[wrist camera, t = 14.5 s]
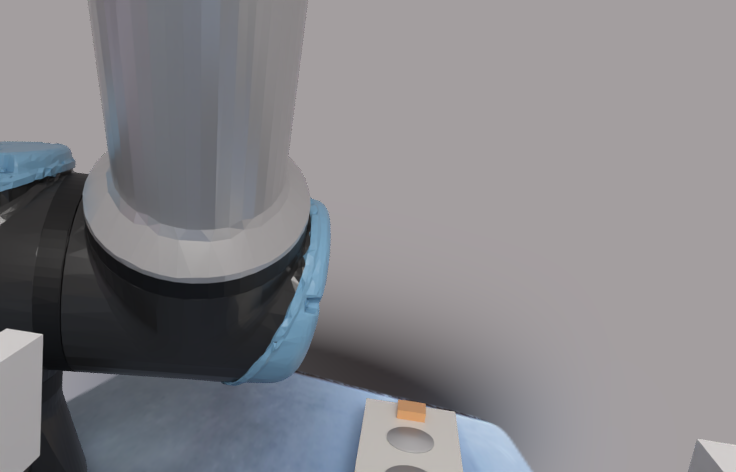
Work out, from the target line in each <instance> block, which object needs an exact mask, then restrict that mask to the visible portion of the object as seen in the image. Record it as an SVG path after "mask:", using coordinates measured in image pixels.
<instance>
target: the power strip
mask: <svg viewBox="0 0 736 472" xmlns="http://www.w3.org/2000/svg"><path fill="white" fill-rule="evenodd" d="M354 472H463V468H462V461H461V453H460V445H459V438H458V430H457V423H456V415H455V412H453V411H446V410H440V409H433V408H427V407H426V404H424V403H418V402H411V401H405V400H398V403H395V402H388V401H382V400H375V399H369V398H367V399H366V405H365V411H364V417H363V423H362V429H361V435H360V441H359V447H358V453H357V459H356V465H355V471H354Z"/></svg>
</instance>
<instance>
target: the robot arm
mask: <svg viewBox="0 0 736 472" xmlns="http://www.w3.org/2000/svg"><path fill="white" fill-rule="evenodd" d="M307 4H308V0H88V6H89V13H90V21H91V28H92V36H93V43H94V50H95V58H96V65H97V72H98V80H99V87H100V95H101V101H102V109H103V116H104V124H105V132H106V139H107V146H108V151H107V152H106V153H104V154H103V155H102V156H101V158H100V159H99V160H98V161H97V162H96V163H95V165H94V166H93V168H92V170H91V171H90V173H89V174H82V173H76V172H74V171H73V168H75V160H74V159H73V157H72V153H71V150H70V149H69V148H68V147H67V146H65V145H62V144H50V143H42V142H0V472H87V465H86V459H85V456H84V453H83V450H82V447H81V444H80V441H79V438H78V436H77V433H76V430H75V427H74V424H73V421H72V418H71V415H70V412H69V409H68V407H67V404H66V401H65V398H64V395H63V391H62V374H63V371H74V372H90V373H105V374H106V373H107V374H120V375H135V376H150V377H164V378H179V379H192V380H204V381H216V382H221V383H222V384H226V385H234V386H236V385H240V384H242V383H275V382H279V381H282V380H284V379H286V378H288V377H289V376H291V375H292V374H293V373H294V372H295V371H296V370H297V369H298V367H299V366H300V364H301V362H302V361H303V359H304V357H305V355H306V353H307V351H308V348H309V346H310V343H311V340H312V338H313V335H314V331H315V328H316V324H317V321H318V316H319V302H320V300H321V298H322V296H323V292H324V288H325V285H326V279H327V272H328V264H329V256H330V235H331V234H330V218H329V214H328V211H327V208H326V207H325V205H324V204H322V203H321V202H320V201H317V200H314V199H312V198H310V194H309V189H308V185H307V183H306V179H305V177H304V175H303V174H302V172H301V170H300V168H299V167H298V166H297V165H296V164H295V162H294V161H293V160H292V159H291V158H290V157H289V156H288V154H289V146H290V139H291V131H292V122H293V115H294V106H295V99H296V91H297V83H298V75H299V67H300V59H301V52H302V44H303V36H304V28H305V20H306V12H307ZM688 472H736V445H732V444H726V443H720V442H713V441H708V440H701V439H697V441H696V445H695V449H694V452H693V456H692V460H691V463H690V467H689V470H688Z"/></svg>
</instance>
